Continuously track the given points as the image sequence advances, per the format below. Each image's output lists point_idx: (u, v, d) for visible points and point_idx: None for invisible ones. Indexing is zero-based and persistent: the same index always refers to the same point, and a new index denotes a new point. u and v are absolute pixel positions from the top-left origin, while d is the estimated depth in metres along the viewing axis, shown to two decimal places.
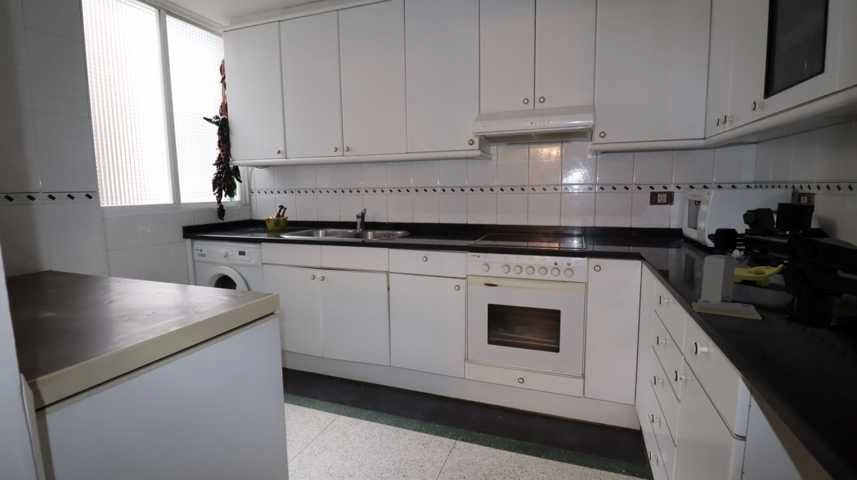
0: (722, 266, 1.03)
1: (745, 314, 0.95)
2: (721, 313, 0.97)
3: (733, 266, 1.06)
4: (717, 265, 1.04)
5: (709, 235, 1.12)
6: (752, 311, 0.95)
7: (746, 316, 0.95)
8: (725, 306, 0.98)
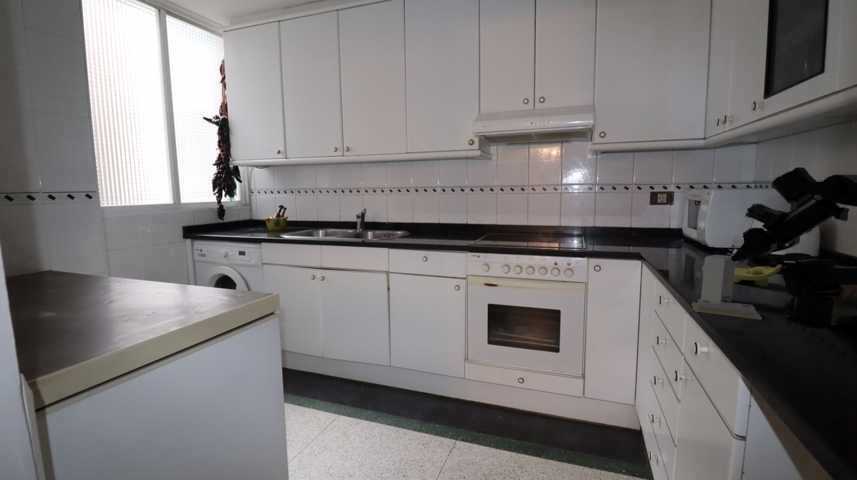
0: (722, 266, 1.03)
1: (745, 314, 0.95)
2: (721, 313, 0.97)
3: (733, 266, 1.06)
4: (717, 265, 1.04)
5: (734, 257, 0.99)
6: (752, 311, 0.95)
7: (746, 316, 0.95)
8: (725, 306, 0.98)
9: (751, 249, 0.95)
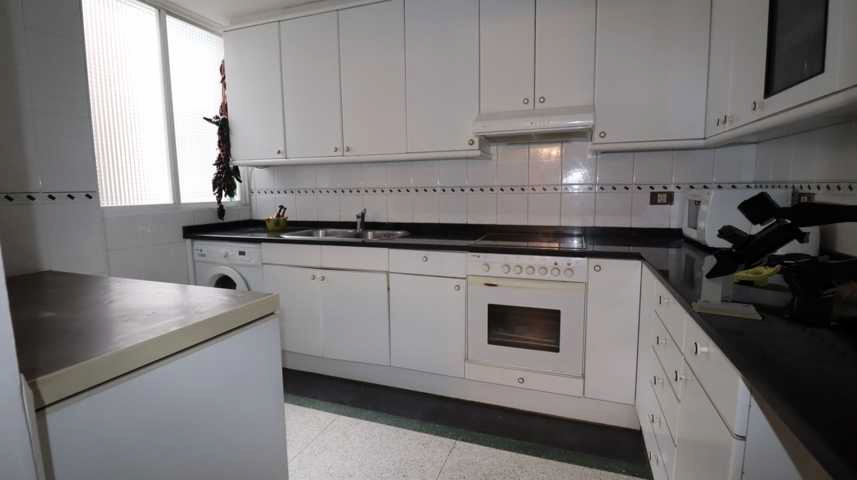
0: None
1: (745, 314, 0.95)
2: (721, 313, 0.97)
3: None
4: None
5: (708, 275, 1.05)
6: (752, 311, 0.95)
7: (746, 316, 0.95)
8: (725, 306, 0.98)
9: (723, 268, 1.02)
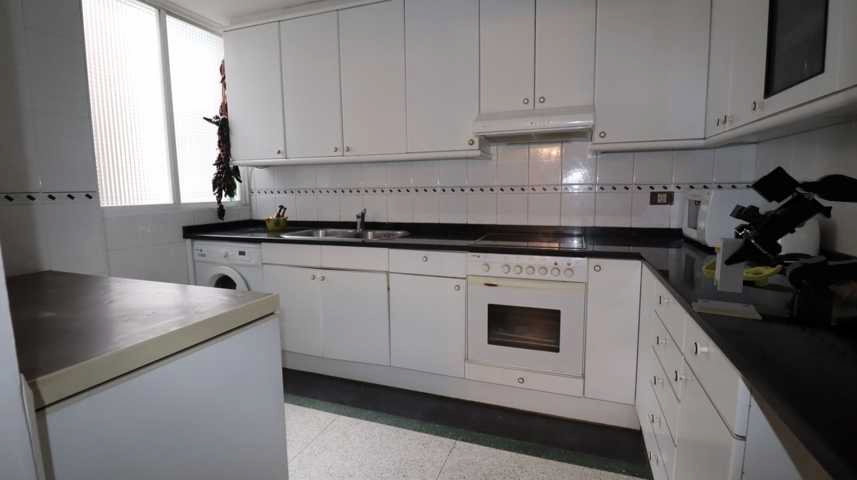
0: None
1: (745, 314, 0.95)
2: (721, 313, 0.97)
3: None
4: None
5: (729, 261, 0.94)
6: (752, 311, 0.95)
7: (746, 316, 0.95)
8: (725, 306, 0.98)
9: (749, 252, 0.92)
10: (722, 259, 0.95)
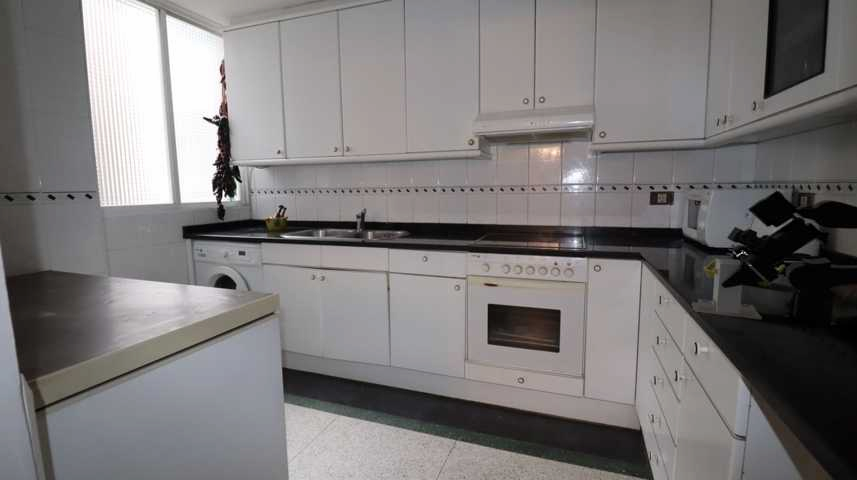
0: None
1: (745, 314, 0.95)
2: (721, 313, 0.97)
3: None
4: (735, 271, 0.94)
5: (726, 284, 0.95)
6: (752, 311, 0.95)
7: (746, 316, 0.95)
8: None
9: (747, 275, 0.92)
10: (720, 281, 0.96)
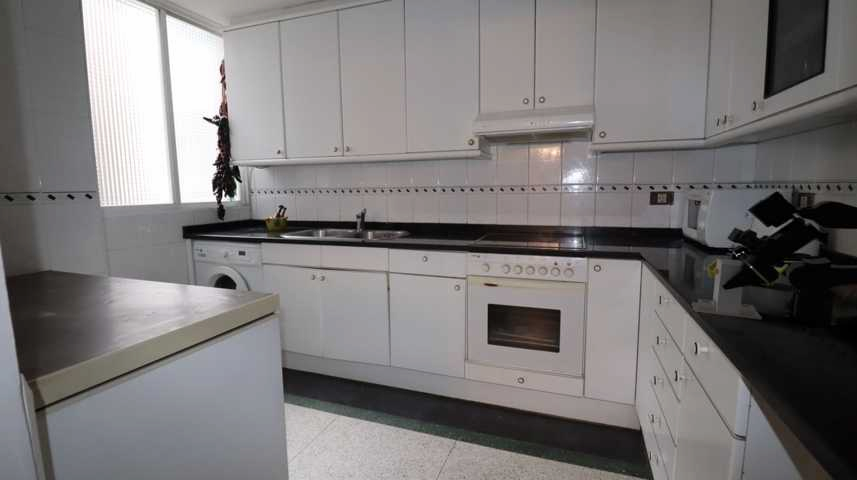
0: None
1: (745, 314, 0.95)
2: (721, 313, 0.97)
3: None
4: (736, 271, 0.94)
5: (727, 285, 0.94)
6: (752, 311, 0.95)
7: (746, 316, 0.95)
8: None
9: (748, 277, 0.91)
10: (720, 281, 0.96)
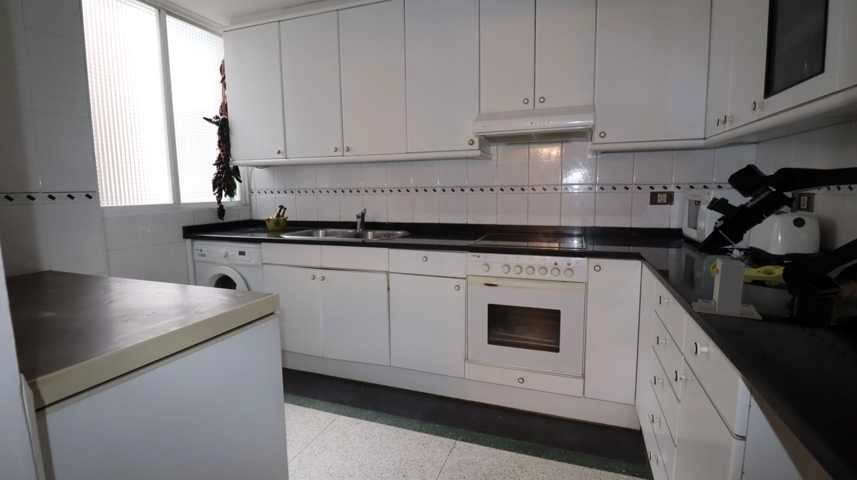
0: (742, 272, 0.94)
1: (745, 314, 0.95)
2: (721, 313, 0.97)
3: None
4: (736, 271, 0.94)
5: (701, 249, 1.03)
6: (752, 311, 0.95)
7: (746, 316, 0.95)
8: None
9: (719, 240, 1.00)
10: (720, 281, 0.96)
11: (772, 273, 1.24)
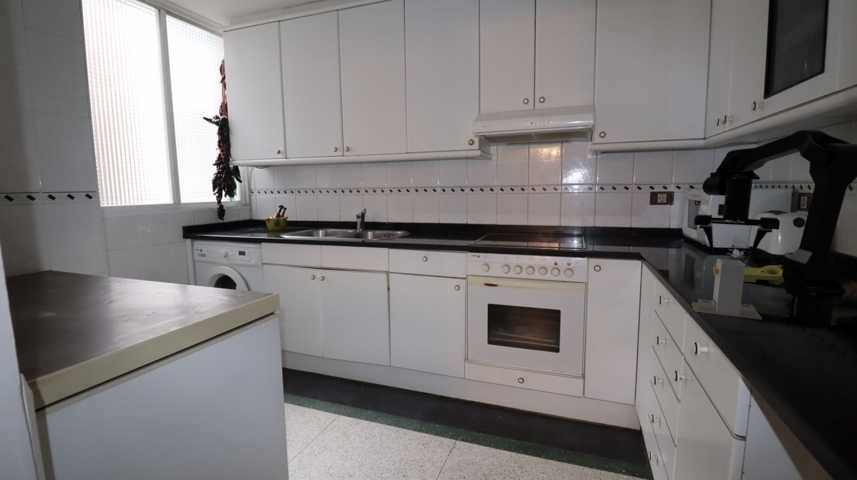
0: (742, 272, 0.94)
1: (745, 314, 0.95)
2: (721, 313, 0.97)
3: None
4: (736, 271, 0.94)
5: (710, 246, 1.17)
6: (752, 311, 0.95)
7: (746, 316, 0.95)
8: None
9: None
10: (720, 281, 0.96)
11: (775, 272, 1.25)
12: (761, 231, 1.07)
